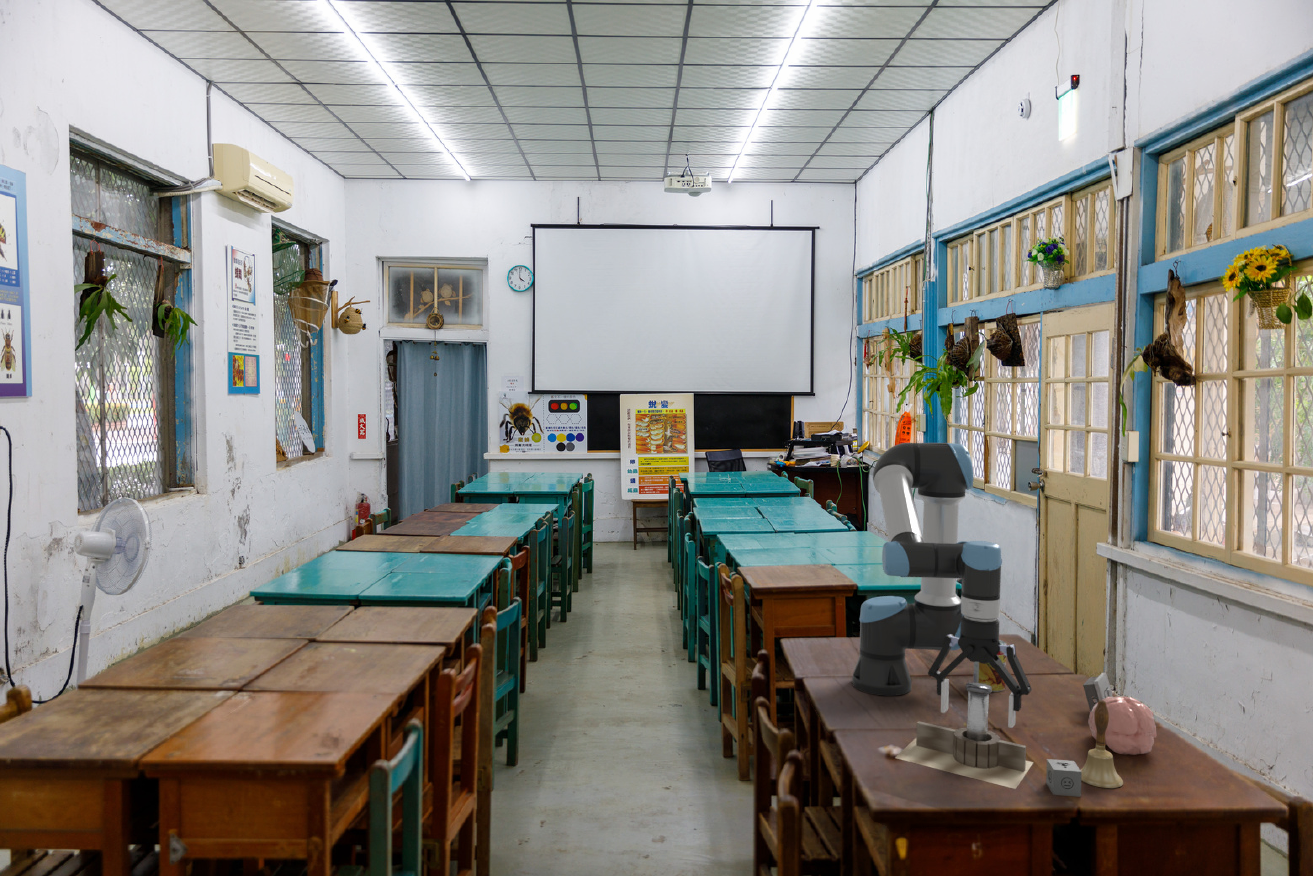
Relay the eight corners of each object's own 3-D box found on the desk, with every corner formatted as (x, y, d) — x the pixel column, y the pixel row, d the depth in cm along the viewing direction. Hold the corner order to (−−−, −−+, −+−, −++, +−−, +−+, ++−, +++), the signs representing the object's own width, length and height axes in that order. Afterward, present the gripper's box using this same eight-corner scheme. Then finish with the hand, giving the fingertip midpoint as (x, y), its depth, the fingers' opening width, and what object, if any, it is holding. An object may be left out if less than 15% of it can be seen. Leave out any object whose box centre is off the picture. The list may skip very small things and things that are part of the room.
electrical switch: (1108, 722, 205) (1105, 682, 205) (1084, 718, 208) (1081, 680, 208) (1116, 711, 212) (1113, 673, 212) (1093, 708, 215) (1090, 670, 215)
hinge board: (894, 763, 181) (895, 734, 180) (918, 740, 193) (919, 713, 193) (1015, 795, 167) (1016, 763, 166) (1033, 768, 179) (1034, 738, 179)
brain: (1082, 754, 196) (1075, 698, 201) (1142, 757, 195) (1134, 700, 199) (1107, 753, 182) (1099, 692, 186) (1172, 755, 180) (1163, 694, 184)
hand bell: (1068, 771, 178) (1071, 694, 177) (1106, 769, 179) (1109, 693, 178) (1092, 789, 170) (1094, 709, 169) (1132, 788, 170) (1135, 708, 169)
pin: (960, 758, 180) (963, 685, 180) (967, 752, 184) (970, 681, 184) (985, 764, 177) (988, 690, 177) (991, 758, 181) (994, 686, 181)
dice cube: (1073, 785, 171) (1073, 761, 171) (1080, 797, 166) (1081, 771, 166) (1046, 783, 172) (1046, 759, 172) (1053, 795, 167) (1053, 769, 167)
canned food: (1009, 692, 225) (1011, 646, 224) (979, 691, 225) (980, 646, 225) (998, 682, 233) (1000, 638, 232) (969, 681, 233) (970, 637, 232)
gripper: (914, 611, 183) (912, 710, 184) (1040, 631, 168) (1037, 738, 170) (926, 604, 189) (923, 700, 190) (1048, 623, 175) (1045, 726, 176)
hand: (977, 718), depth 180 cm, fingers open, 13 cm apart
